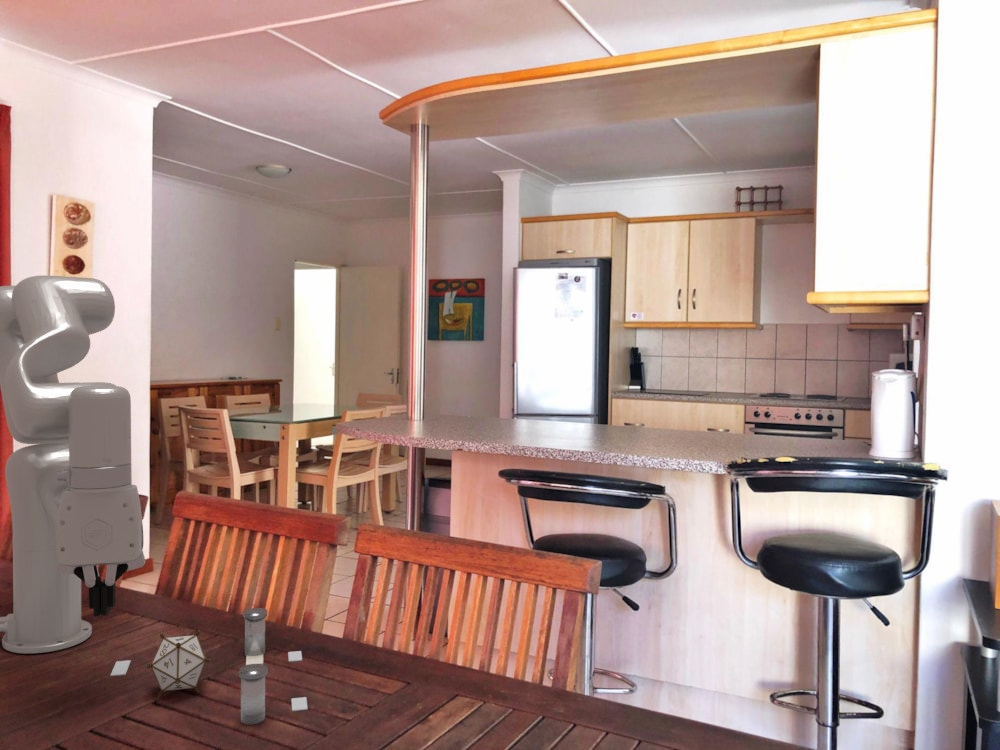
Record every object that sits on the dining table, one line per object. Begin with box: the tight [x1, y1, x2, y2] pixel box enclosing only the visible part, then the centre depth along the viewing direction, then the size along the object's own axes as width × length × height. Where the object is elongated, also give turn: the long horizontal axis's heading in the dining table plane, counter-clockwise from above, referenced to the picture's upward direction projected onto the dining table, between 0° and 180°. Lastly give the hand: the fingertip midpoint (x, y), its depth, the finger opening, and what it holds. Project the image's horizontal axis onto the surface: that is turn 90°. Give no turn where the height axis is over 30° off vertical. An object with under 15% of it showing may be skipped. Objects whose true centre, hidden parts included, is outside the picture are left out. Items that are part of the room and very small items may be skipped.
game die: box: [144, 629, 213, 698], centre depth 113 cm, size 9×8×10 cm
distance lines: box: [110, 650, 309, 712], centre depth 115 cm, size 27×22×1 cm
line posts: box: [238, 607, 269, 726], centre depth 116 cm, size 4×26×7 cm, turn 16°
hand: (102, 612), depth 109 cm, fingers closed
